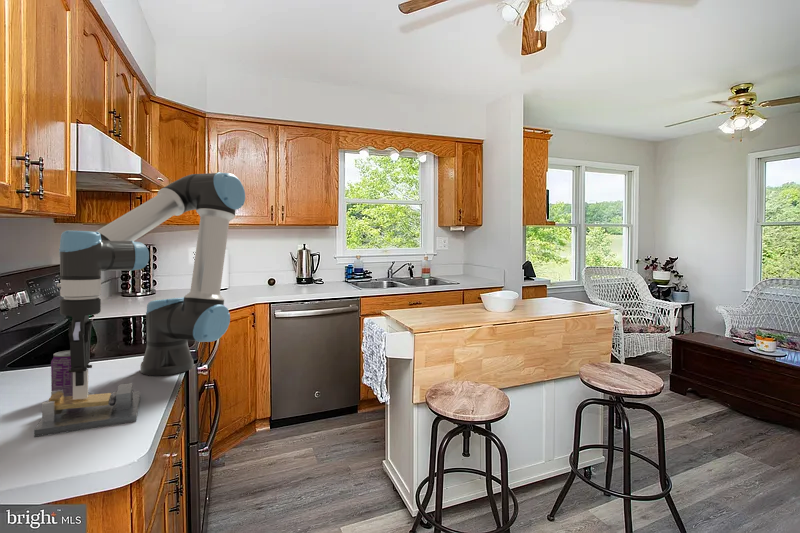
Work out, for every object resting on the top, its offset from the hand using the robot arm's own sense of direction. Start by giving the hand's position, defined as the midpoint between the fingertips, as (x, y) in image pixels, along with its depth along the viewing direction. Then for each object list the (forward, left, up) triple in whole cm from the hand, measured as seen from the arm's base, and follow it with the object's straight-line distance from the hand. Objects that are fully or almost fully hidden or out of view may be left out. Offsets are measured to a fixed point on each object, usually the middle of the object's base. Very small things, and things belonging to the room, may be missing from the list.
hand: (80, 397), depth 98 cm
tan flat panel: (-1, 0, -2) cm, 2 cm away
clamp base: (-2, +2, -4) cm, 5 cm away
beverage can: (-8, -14, -5) cm, 17 cm away
